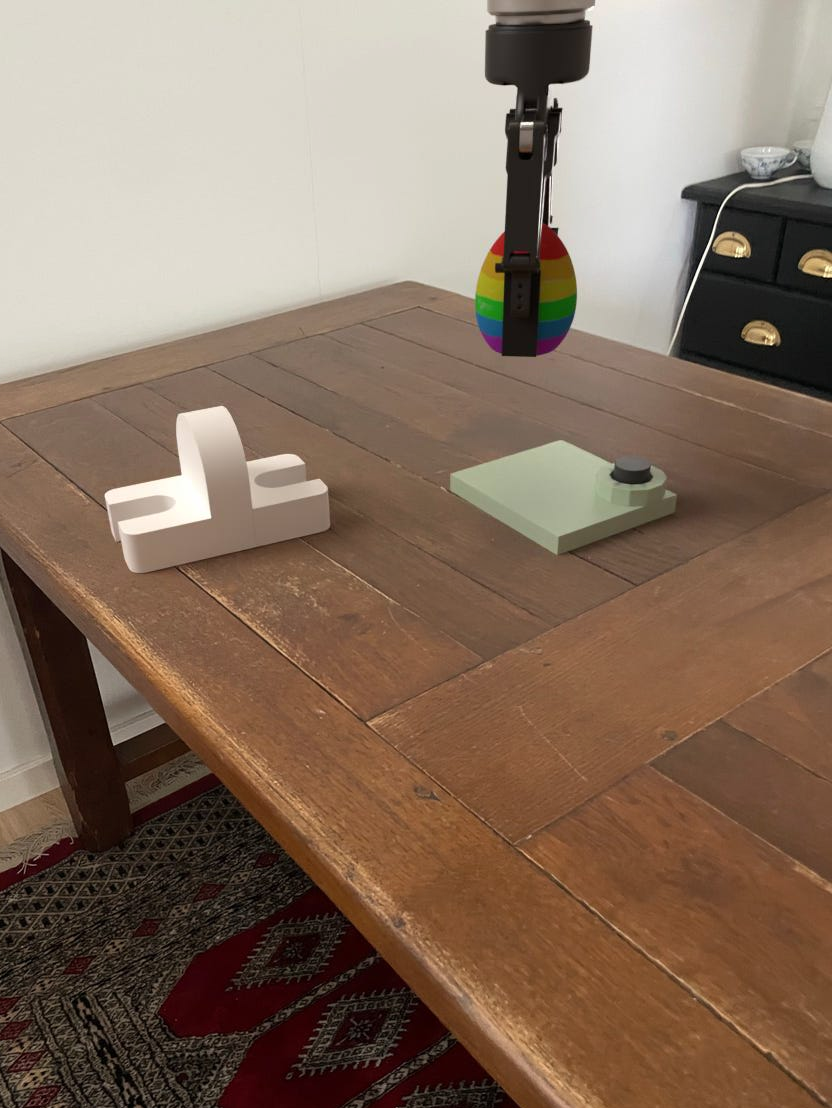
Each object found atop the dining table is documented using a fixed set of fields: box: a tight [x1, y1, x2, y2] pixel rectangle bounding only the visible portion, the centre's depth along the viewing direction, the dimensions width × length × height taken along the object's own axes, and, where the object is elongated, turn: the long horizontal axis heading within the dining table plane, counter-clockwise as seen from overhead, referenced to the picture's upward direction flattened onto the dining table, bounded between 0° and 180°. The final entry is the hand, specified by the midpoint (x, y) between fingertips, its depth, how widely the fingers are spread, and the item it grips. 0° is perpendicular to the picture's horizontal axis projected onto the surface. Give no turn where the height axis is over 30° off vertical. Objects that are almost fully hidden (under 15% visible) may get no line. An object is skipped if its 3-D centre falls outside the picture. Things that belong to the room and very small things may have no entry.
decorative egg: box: [474, 223, 578, 357], centre depth 83 cm, size 8×8×10 cm
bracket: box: [104, 405, 331, 574], centre depth 93 cm, size 19×10×11 cm, turn 113°
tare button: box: [613, 456, 652, 485], centre depth 93 cm, size 3×3×2 cm
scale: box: [449, 439, 678, 556], centre depth 97 cm, size 16×14×4 cm
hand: (524, 337), depth 85 cm, fingers closed on decorative egg, 8 cm apart
